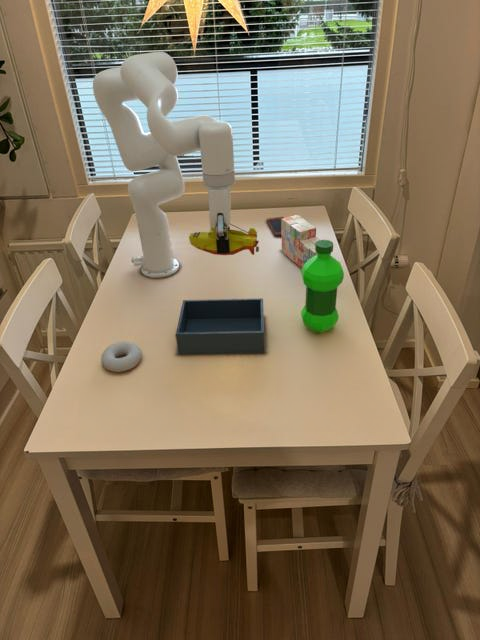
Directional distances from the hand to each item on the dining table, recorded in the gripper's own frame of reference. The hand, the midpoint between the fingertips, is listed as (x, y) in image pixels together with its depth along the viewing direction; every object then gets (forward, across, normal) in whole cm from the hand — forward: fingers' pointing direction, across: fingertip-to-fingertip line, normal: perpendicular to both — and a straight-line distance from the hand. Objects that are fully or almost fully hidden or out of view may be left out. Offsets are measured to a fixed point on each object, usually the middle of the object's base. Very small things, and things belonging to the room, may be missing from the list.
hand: (223, 246), depth 123 cm
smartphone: (+22, -56, +18) cm, 63 cm away
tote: (+22, +9, -1) cm, 24 cm away
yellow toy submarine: (+2, 0, 0) cm, 2 cm away
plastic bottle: (+22, +7, +25) cm, 34 cm away
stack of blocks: (+22, -29, +24) cm, 44 cm away
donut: (+22, +19, -27) cm, 39 cm away
